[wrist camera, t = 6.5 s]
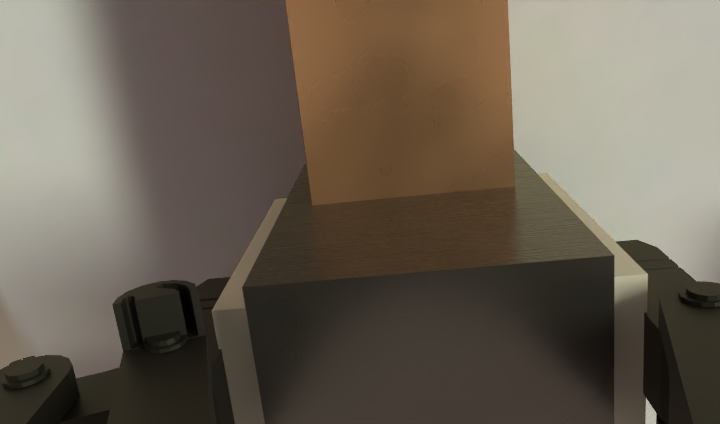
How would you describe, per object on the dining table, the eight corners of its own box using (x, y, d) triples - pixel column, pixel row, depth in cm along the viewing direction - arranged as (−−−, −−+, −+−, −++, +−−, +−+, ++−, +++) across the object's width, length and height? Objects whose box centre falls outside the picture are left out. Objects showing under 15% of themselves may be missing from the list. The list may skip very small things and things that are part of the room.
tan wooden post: (233, -375, 14) (51, -845, 6) (485, -412, 14) (617, -954, 6) (342, 447, 20) (316, 727, 12) (521, 435, 19) (613, 715, 12)
